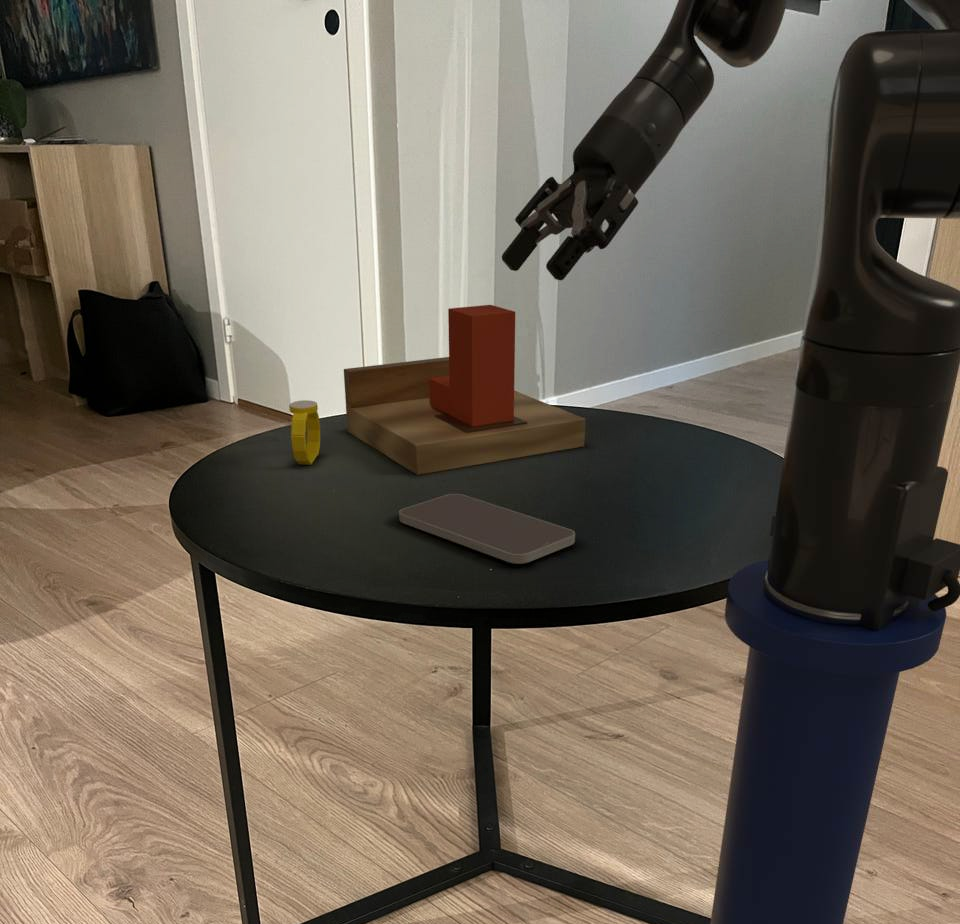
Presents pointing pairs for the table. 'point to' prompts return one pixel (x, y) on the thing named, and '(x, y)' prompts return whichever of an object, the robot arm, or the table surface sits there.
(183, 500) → the table surface
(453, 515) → the smartphone
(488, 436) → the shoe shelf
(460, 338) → the boot
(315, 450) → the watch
